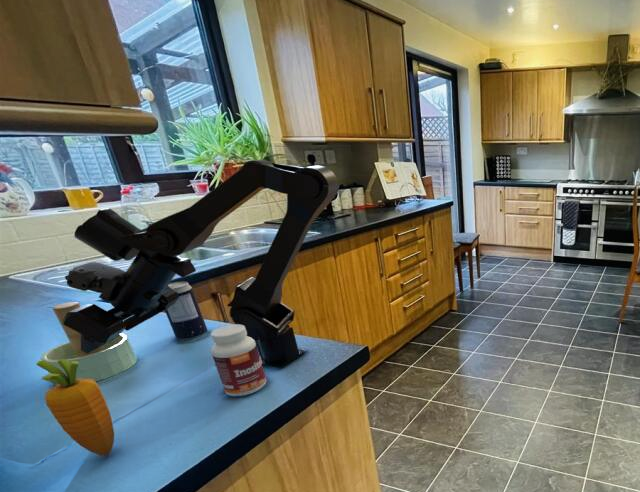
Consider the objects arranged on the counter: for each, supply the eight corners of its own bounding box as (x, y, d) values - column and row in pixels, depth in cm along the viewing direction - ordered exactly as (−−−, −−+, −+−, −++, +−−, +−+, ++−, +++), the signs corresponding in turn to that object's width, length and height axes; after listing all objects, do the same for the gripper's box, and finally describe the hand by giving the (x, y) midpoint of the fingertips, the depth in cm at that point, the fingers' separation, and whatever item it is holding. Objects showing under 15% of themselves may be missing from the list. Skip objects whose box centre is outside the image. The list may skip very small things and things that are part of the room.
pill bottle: (244, 400, 66) (224, 340, 61) (216, 394, 67) (194, 336, 63) (275, 380, 71) (258, 324, 66) (249, 375, 73) (230, 320, 68)
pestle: (121, 364, 76) (91, 301, 71) (92, 377, 72) (57, 311, 67) (103, 361, 77) (72, 299, 72) (73, 374, 73) (37, 309, 68)
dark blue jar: (214, 331, 91) (197, 281, 86) (194, 343, 85) (174, 290, 81) (191, 330, 91) (173, 280, 86) (170, 342, 86) (148, 289, 81)
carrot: (139, 447, 56) (91, 352, 50) (96, 472, 51) (37, 372, 45) (116, 439, 57) (67, 347, 51) (72, 463, 53) (13, 366, 47)
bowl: (153, 361, 78) (142, 335, 76) (85, 392, 69) (70, 365, 66) (111, 355, 81) (99, 330, 79) (39, 384, 71) (24, 357, 69)
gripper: (137, 235, 75) (98, 294, 78) (45, 262, 58) (0, 336, 61) (197, 273, 79) (158, 328, 82) (127, 308, 62) (81, 375, 65)
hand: (106, 339), depth 73 cm, fingers open, 9 cm apart
